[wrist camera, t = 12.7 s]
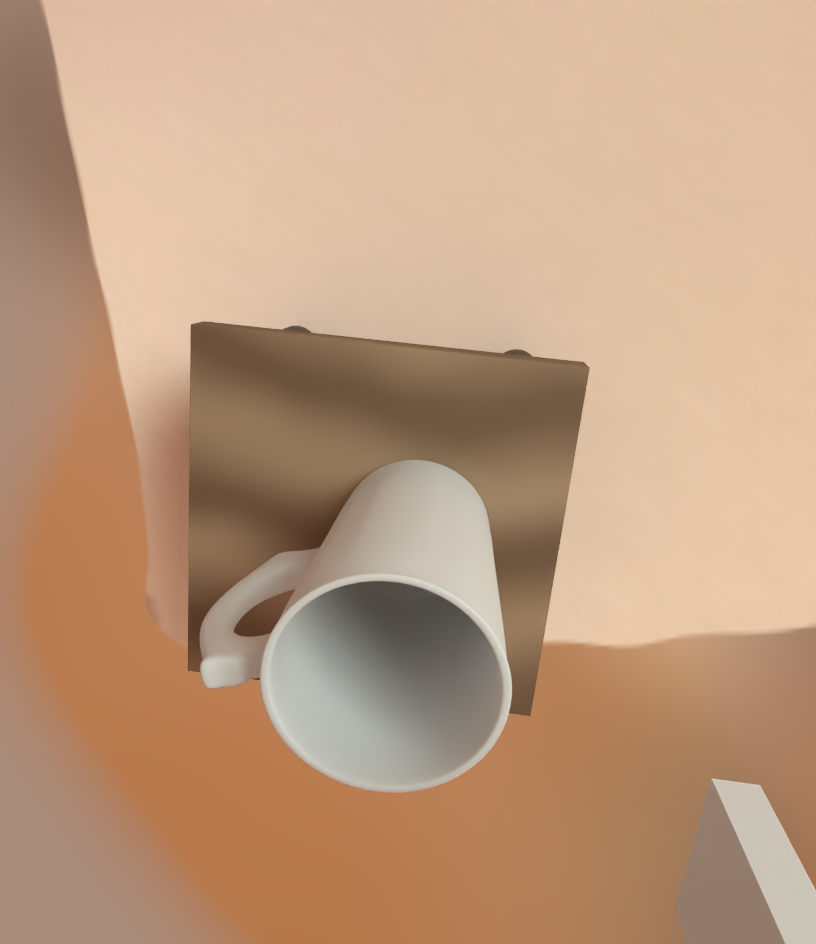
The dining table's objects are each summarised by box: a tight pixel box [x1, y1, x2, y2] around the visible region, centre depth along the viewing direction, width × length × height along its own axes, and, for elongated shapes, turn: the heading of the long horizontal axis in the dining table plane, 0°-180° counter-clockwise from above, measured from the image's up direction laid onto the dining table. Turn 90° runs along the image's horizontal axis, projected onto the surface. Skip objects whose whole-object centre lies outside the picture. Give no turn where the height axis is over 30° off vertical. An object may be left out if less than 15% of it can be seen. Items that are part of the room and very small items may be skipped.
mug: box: [200, 460, 512, 792], centre depth 25 cm, size 10×7×12 cm, turn 96°
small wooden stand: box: [188, 322, 589, 716], centre depth 36 cm, size 16×16×10 cm
